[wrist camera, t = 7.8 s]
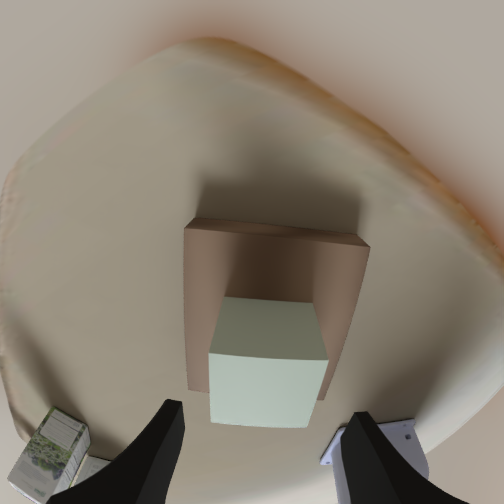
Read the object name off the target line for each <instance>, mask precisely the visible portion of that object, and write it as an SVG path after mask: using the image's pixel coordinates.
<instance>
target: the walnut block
mask: <svg viewBox="0 0 504 504" xmlns="http://www.w3.org/2000/svg"><path fill="white" fill-rule="evenodd" d="M370 248H371V247H370V246H369V245H368V244H366V243H365V242H364V241H363V240H362V239H361V238H360V237H359V236H358V235H355V234H347V233H339V232H331V231H323V230H314V229H305V228H296V227H287V226H278V225H269V224H259V223H249V222H239V221H228V220H217V219H206V218H194V219H193V220H192V221H191V222H190V223H189V224H188V225H187V226H186V227H185V228H184V323H185V348H186V366H187V381H188V390H192V391H198V392H205V393H210V388H209V354H208V353H209V349H210V345H211V342H212V338H213V334H214V331H215V327H216V323H217V320H218V316H219V312H220V309H221V305H222V302H223V298H224V297H235V298H247V299H259V300H272V301H287V302H303V303H313V306H314V309H315V313H316V316H317V320H318V323H319V327H320V330H321V334H322V337H323V341H324V344H325V348H326V352H327V355H328V359H329V362H328V365H327V368H326V372H325V375H324V378H323V381H322V384H321V387H320V390H319V393H318V396H317V399H316V400H324V398H325V395H326V393H327V390H328V388H329V385H330V382H331V380H332V377H333V374H334V372H335V369H336V366H337V363H338V361H339V358H340V355H341V352H342V349H343V346H344V343H345V340H346V337H347V334H348V330H349V327H350V324H351V321H352V317H353V314H354V311H355V307H356V304H357V300H358V296H359V293H360V289H361V285H362V281H363V277H364V273H365V269H366V265H367V261H368V257H369V252H370Z"/></svg>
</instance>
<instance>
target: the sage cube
mask: <svg viewBox="0 0 504 504" xmlns="http://www.w3.org/2000/svg"><path fill="white" fill-rule="evenodd" d="M208 354H209V388H210V412H211V422H215V423H223V424H233V425H244V426H258V427H283V428H306V427H307V424H308V422H309V419H310V416H311V414H312V411H313V408H314V405H315V402H316V399H317V396H318V393H319V390H320V387H321V384H322V381H323V378H324V375H325V372H326V368H327V365H328V362H329V359H328V355H327V352H326V348H325V344H324V341H323V337H322V334H321V330H320V327H319V323H318V320H317V316H316V313H315V309H314V306H313V303H303V302H287V301H272V300H259V299H247V298H235V297H224V298H223V302H222V305H221V309H220V312H219V316H218V320H217V323H216V327H215V331H214V334H213V338H212V342H211V345H210V349H209V353H208Z"/></svg>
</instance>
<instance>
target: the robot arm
mask: <svg viewBox="0 0 504 504" xmlns="http://www.w3.org/2000/svg"><path fill="white" fill-rule="evenodd" d="M415 423H416V421H415V419H411V420H405V421H399V422H392V423H385V424H376V423H375V421H374V420H373V418H372V417H371V416H370V414H369V413H368V412H367V411H365V412H354V414H353V416H352V418H351V420H350V421H349V423H348V425H347V427H343V428H340V429H339V430H338V431H337V433H336V435H335V437H334V438H333V440H332V442H331V443H330V445H329V447H328V448H327V450H326V452H325V453H324V455H323V457H322V458H321V460H320V464H321V465H326V464H332V465H333V472H334V478H335V484H336V491H337V498H338V504H469V503H467V502H464V501H462V500H460V499H458V498H455V497H453V496H452V495H450V494H448V493H446V492H444V491H442V490H441V489H440V488H438V487H436V486H435V485H434V484H432V483H431V482H430V481H428V476H429V467H428V463H427V460H426V457H425V455H424V452H423V450H422V447H421V445H420V442H419V440H418V437H417V435H416V433H415V430H414V428H413V426H414V424H415ZM184 431H185V423H184V415H183V406H182V402H181V401H176V400H171V399H167V400H165V401H164V403H163V405H162V406H161V407H160V409H159V410H158V412H157V413H156V415H155V416H154V417H153V418H152V420H151V421H150V422H149V424H148V425H147V426H146V427H145V428H144V430H143V431H142V432H141V433H140V434H139V435H138V436H137V438H136V439H135V440H134V441H133V442H132V443H131V444H130V445H129V446H128V447H127V448H126V449H125V450H124V451H123V452H122V453H121V454H119V455H118V456H117V457H116V458H115V459H114V460H112V461H111V462H110V463H109V464H108V465H106V466H105V467H103V468H102V469H101V470H99V471H98V472H96V473H95V474H93V475H92V476H90V477H89V478H87V479H85V480H83V481H82V482H80V483H78V484H76V485H75V486H73V487H71V488H68V489H66V490H64V491H61V492H59V493H57V494H54V495H52V496H50V498H49V499H48V501H47V502H46V504H165V500H166V495H167V491H168V487H169V484H170V481H171V478H172V475H173V472H174V469H175V466H176V463H177V460H178V457H179V454H180V450H181V447H182V442H183V437H184Z"/></svg>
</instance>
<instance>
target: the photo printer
mask: <svg viewBox="0 0 504 504" xmlns="http://www.w3.org/2000/svg"><path fill="white" fill-rule="evenodd" d="M109 463H110V461H106V460H102V459H99V458H95V457H90V456H88V457H87V459H86V460H85V463H84V465H83V467H82V469H81V471H80V473H79V476H78V478H77V480H76V482H75V484H74V486H75V485H76V484H78V483H80V482H82V481H83V480H85V479H87V478H89V477H90V476H92V475H93V474H95V473H96V472H98V471H99V470H101V469H102V468H103V467H105V466H106V465H108V464H109Z"/></svg>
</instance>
